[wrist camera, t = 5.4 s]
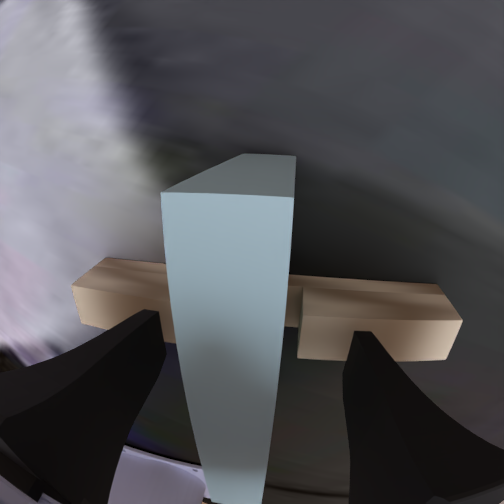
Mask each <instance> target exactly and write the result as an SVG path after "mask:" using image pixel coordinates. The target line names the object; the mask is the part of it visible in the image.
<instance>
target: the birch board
mask: <svg viewBox="0 0 504 504" xmlns="http://www.w3.org/2000/svg"><path fill="white" fill-rule="evenodd" d="M71 288H72V292H73V295H74V299H75V303H76V306H77V310H78V313H79V316H80V320H81V323H82V324H86V325H90V326H94V327H98V328H103V329H107V330H109V329H111V328H112V327H114V326H116V325H117V324H119V323H121V322H122V321H124V320H125V319H127V318H129V317H130V316H132V315H134V314H136V313H137V312H139V311H141V310H143V309H147V310H154V311H159V315H160V321H161V327H162V332H163V338H164V341H165V342H171V343H176V338H175V331H174V324H173V317H172V310H171V302H170V294H169V286H168V277H167V268H166V264H163V263H153V262H143V261H133V260H123V259H114V258H105V259H103V260H102V261H101V262H99V263H98V264H97V265H96V266H94V267H93V268H92V269H90V270H89V271H88V272H87V273H85V274H84V275H83V276H82V277H80V278H79V279H78V280H77V281H75V282H74V283H73V284H72V285H71ZM462 321H463V320H462V319H461V317H460V316H459V314H458V313H457V311H456V310H455V308H454V307H453V306H452V304H451V303H450V301H449V300H448V299H447V297H446V296H445V294H444V293H443V292H442V290H441V289H440V288H439V286H438V285H437V284H425V283H408V282H391V281H375V280H359V279H344V278H330V277H316V276H303V275H290V274H289V277H288V289H287V300H286V311H285V322H284V326H288V327H298V350H297V358H302V359H318V360H339V361H346V360H347V356H348V353H349V349H350V345H351V341H352V338H353V334H354V331H372V333H373V334H374V335H375V336H376V338H377V339H378V340H379V341H380V343H381V344H382V345H383V347H384V348H385V349H386V351H387V352H388V353H389V354H390V356H391V357H392V358H393V359H394V361H428V360H446V358H447V356H448V354H449V351H450V349H451V347H452V345H453V343H454V340H455V338H456V336H457V333H458V331H459V328H460V326H461V323H462Z"/></svg>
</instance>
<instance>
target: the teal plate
mask: <svg viewBox="0 0 504 504" xmlns="http://www.w3.org/2000/svg"><path fill="white" fill-rule="evenodd" d="M295 171H296V156H290V155H271V154H241V155H239V156H237V157H235V158H232V159H230V160H228V161H225V162H223V163H221V164H219V165H217V166H214V167H212V168H210V169H208V170H206V171H203V172H201V173H199V174H197V175H195V176H193V177H191V178H189V179H187V180H185V181H182V182H180V183H178V184H176V185H174V186H172V187H170V188H168V189H166V190H164V191H162V192H161V209H162V223H163V236H164V247H165V258H166V268H167V277H168V286H169V294H170V302H171V310H172V317H173V324H174V331H175V338H176V344H177V350H178V356H179V362H180V368H181V374H182V379H183V384H184V390H185V395H186V400H187V405H188V410H189V414H190V419H191V424H192V428H193V432H194V437H195V441H196V445H197V449H198V453H199V457H200V461H201V465H202V469H203V473H204V477H205V480H206V484H207V488H208V491H209V495H210V498H211V501H212V502H216V503H222V504H261V502H262V496H263V490H264V483H265V477H266V470H267V463H268V457H269V449H270V442H271V435H272V428H273V420H274V412H275V404H276V396H277V388H278V379H279V370H280V361H281V352H282V342H283V332H284V322H285V311H286V300H287V289H288V277H289V265H290V252H291V238H292V223H293V207H294V190H295Z"/></svg>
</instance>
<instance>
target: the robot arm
mask: <svg viewBox="0 0 504 504" xmlns="http://www.w3.org/2000/svg"><path fill="white" fill-rule="evenodd" d="M165 357H166V349H165V343H164V338H163V332H162V327H161V321H160V315H159V311H154V310H147V309H143V310H141V311H139V312H137V313H136V314H134V315H132V316H130V317H129V318H127V319H125V320H124V321H122V322H121V323H119V324H117V325H116V326H114V327H112V328H111V329H109V330H107V331H106V332H104V333H102V334H100V335H99V336H97V337H95V338H93V339H91V340H90V341H88V342H86V343H84V344H82V345H80V346H78V347H77V348H75V349H72V350H70V351H68V352H66V353H64V354H61V355H59V356H57V357H54V358H52V359H49V360H46V361H43V362H40V363H37V364H34V365H31V366H28V367H24V368H20V369H16V370H12V371H7V372H2V373H0V504H201V503H202V500H203V497H206V498H210V495H209V491H208V488H207V484H206V480H205V477H204V473H203V469H202V466H198V465H194V464H189V463H185V462H181V461H177V460H173V459H169V458H165V457H161V456H158V455H154V454H151V453H147V452H144V451H141V450H138V449H135V448H132V447H129V446H126V445H125V442H126V439H127V437H128V434H129V431H130V429H131V427H132V425H133V423H134V421H135V419H136V417H137V415H138V413H139V411H140V410H141V408H142V406H143V404H144V402H145V400H146V399H147V397H148V395H149V393H150V391H151V389H152V388H153V386H154V384H155V382H156V380H157V378H158V376H159V373H160V371H161V368H162V366H163V363H164V360H165ZM343 402H344V409H345V417H346V424H347V432H348V440H349V448H350V492H349V504H499V503H501V502H502V501H503V500H504V450H503V449H501V448H499V447H497V446H494V445H492V444H490V443H489V442H487V441H485V440H483V439H482V438H480V437H478V436H477V435H475V434H473V433H472V432H470V431H469V430H467V429H466V428H464V427H463V426H462V425H460V424H459V423H458V422H456V421H455V420H454V419H452V418H451V417H450V416H448V415H447V414H446V413H445V412H443V411H442V410H441V409H440V408H439V407H438V406H437V405H436V404H434V403H433V402H432V401H431V400H430V399H429V398H428V397H427V396H426V395H425V394H424V393H423V392H422V391H421V390H420V389H419V388H418V387H417V386H416V385H415V384H414V383H413V382H412V381H411V379H410V378H409V377H408V376H407V375H406V374H405V373H404V371H403V370H402V369H401V368H400V367H399V365H398V364H397V363H396V362H395V361H394V359H393V358H392V357H391V356H390V354H389V353H388V352H387V351H386V349H385V348H384V347H383V345H382V344H381V343H380V341H379V340H378V339H377V338H376V336H375V335H374V334H373V333H372V331H354V334H353V338H352V341H351V345H350V349H349V353H348V356H347V360H346V363H345V367H344V370H343Z"/></svg>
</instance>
